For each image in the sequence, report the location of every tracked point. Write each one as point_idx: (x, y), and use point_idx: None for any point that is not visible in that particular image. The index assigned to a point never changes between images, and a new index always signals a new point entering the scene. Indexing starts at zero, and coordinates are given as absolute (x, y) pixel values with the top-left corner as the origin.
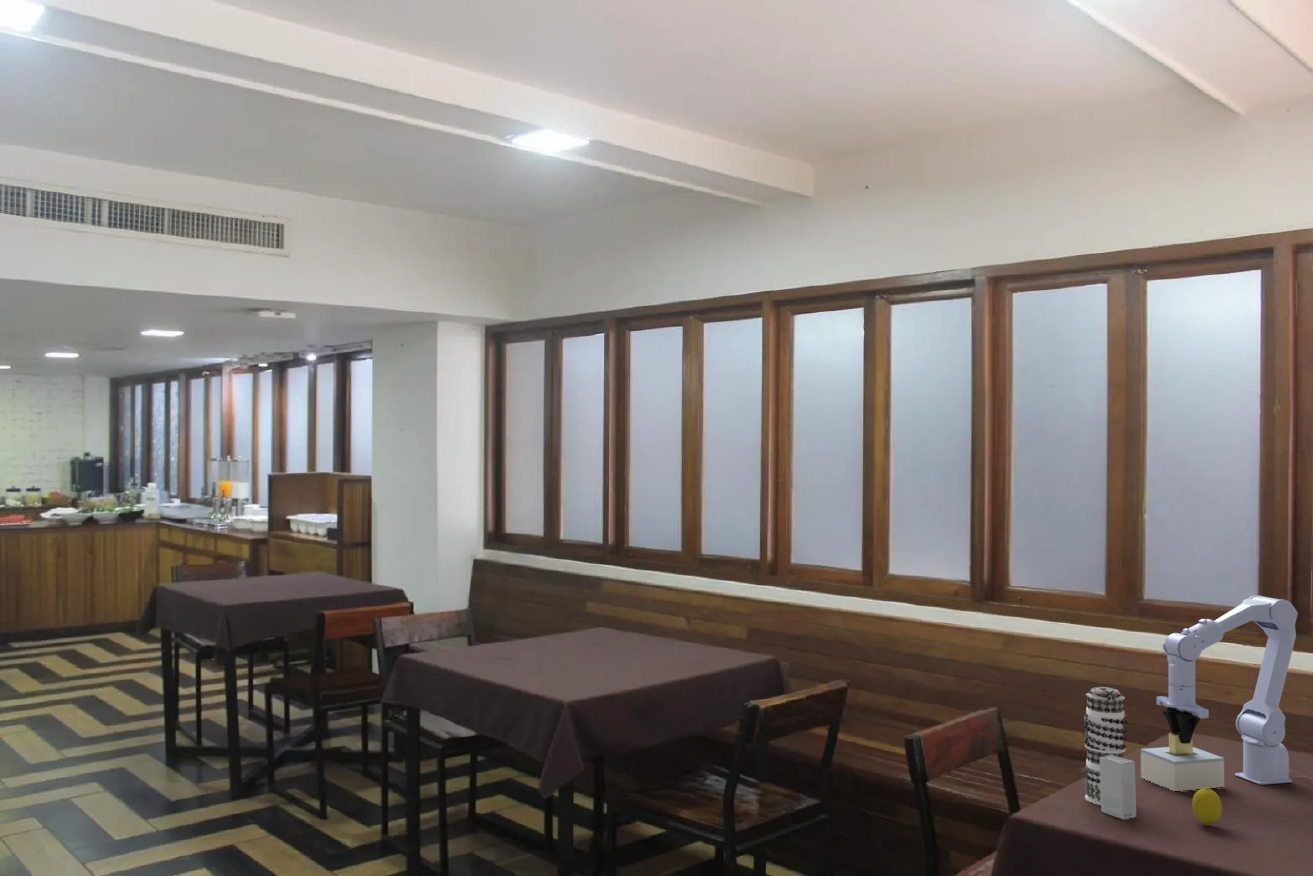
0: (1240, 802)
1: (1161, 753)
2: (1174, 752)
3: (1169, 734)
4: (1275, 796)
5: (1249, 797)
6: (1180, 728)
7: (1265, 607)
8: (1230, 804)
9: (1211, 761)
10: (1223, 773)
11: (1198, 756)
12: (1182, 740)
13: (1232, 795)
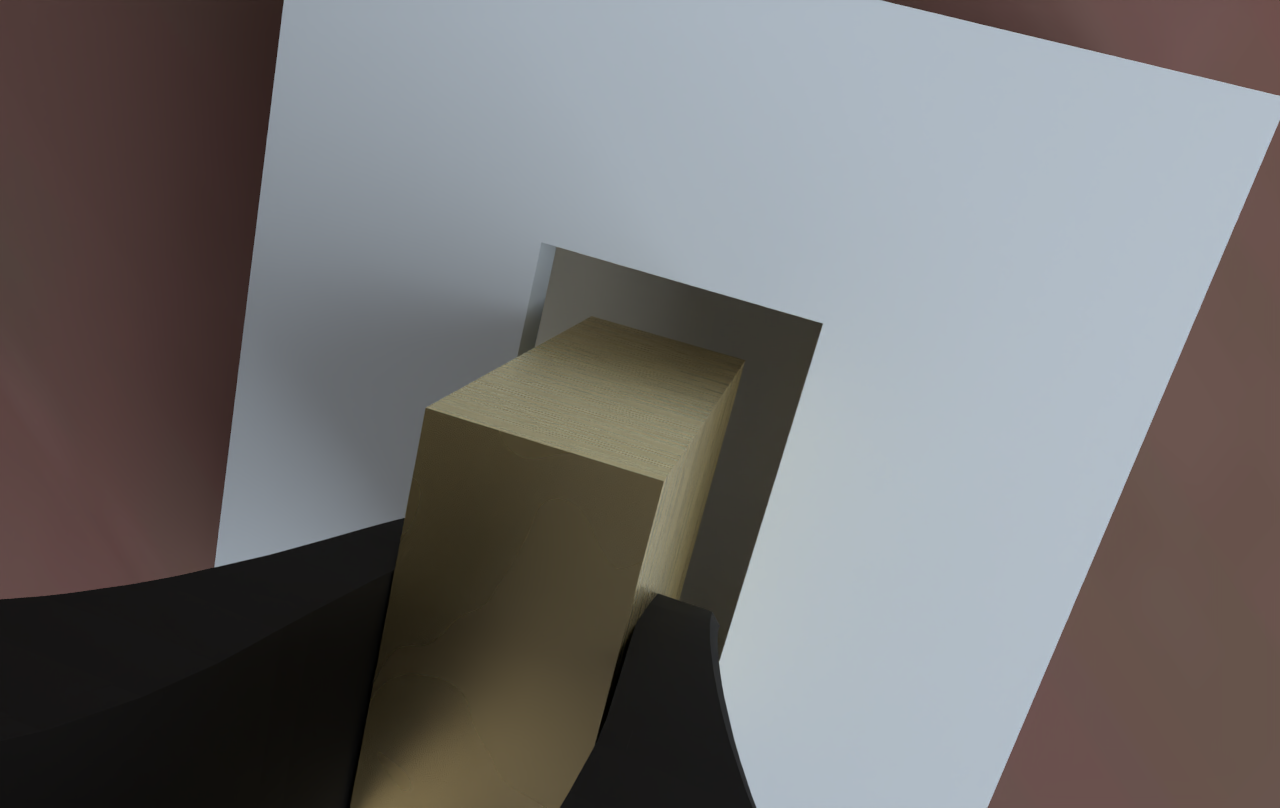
0: (28, 303)
1: (794, 182)
2: (598, 339)
3: (640, 468)
4: None
5: (108, 535)
6: (239, 626)
7: None
8: (10, 143)
9: None
10: None
11: None
12: (393, 523)
13: (200, 455)
